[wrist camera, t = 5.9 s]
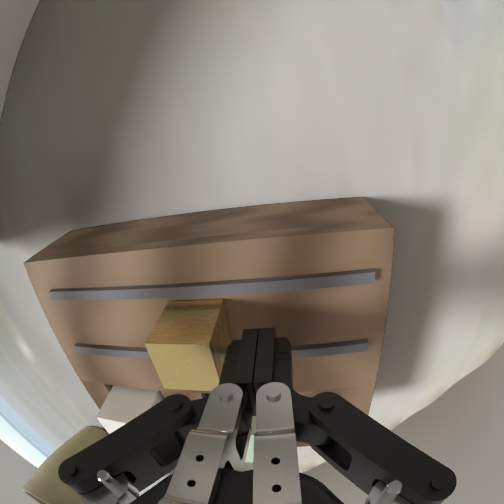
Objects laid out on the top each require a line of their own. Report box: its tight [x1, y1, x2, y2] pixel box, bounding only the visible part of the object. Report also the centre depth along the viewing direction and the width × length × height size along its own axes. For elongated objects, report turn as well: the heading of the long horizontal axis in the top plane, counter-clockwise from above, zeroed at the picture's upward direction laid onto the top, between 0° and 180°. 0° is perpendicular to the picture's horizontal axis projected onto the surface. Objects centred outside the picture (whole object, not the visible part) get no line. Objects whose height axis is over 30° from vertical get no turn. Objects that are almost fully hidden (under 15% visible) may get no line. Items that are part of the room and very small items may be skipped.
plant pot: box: [22, 426, 109, 504], centre depth 28 cm, size 15×15×16 cm
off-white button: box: [97, 385, 164, 434], centre depth 20 cm, size 4×4×5 cm
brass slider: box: [144, 299, 232, 391], centre depth 14 cm, size 3×3×4 cm
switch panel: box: [24, 197, 394, 447], centre depth 20 cm, size 22×18×6 cm
